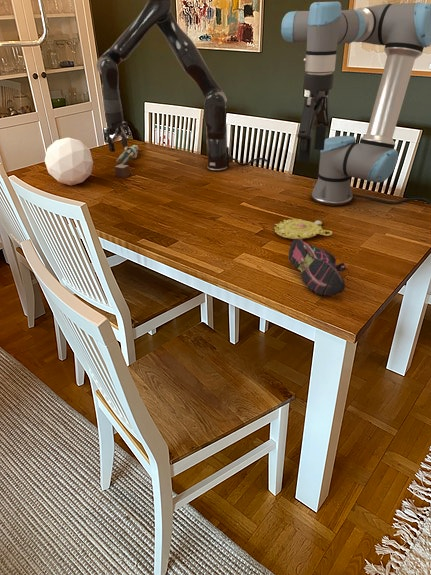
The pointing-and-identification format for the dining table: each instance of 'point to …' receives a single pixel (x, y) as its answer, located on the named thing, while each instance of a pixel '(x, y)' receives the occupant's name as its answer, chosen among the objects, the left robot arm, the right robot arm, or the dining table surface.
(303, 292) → the dining table surface
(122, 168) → the block
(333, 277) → the athletic shoe
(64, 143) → the sphere
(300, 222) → the decorative object
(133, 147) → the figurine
